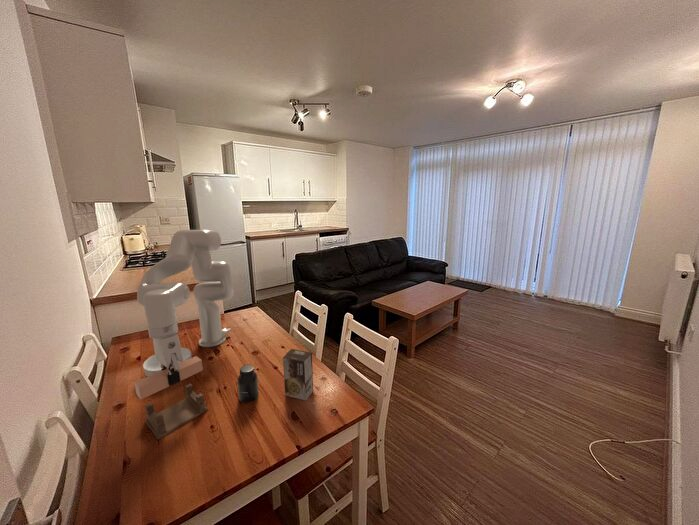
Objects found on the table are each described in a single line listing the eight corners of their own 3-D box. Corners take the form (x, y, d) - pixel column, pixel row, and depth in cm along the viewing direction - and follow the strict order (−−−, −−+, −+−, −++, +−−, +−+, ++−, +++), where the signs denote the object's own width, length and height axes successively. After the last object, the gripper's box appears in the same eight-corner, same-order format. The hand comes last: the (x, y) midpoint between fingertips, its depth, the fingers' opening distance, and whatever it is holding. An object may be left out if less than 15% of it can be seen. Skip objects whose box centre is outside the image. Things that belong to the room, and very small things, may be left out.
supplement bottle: (240, 406, 96) (237, 376, 94) (238, 394, 102) (235, 365, 100) (260, 399, 99) (257, 370, 97) (257, 388, 105) (254, 360, 103)
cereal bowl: (174, 358, 125) (172, 344, 123) (202, 365, 120) (200, 351, 118) (135, 380, 109) (132, 365, 108) (165, 390, 104) (162, 374, 102)
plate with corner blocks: (193, 396, 101) (191, 381, 100) (207, 410, 94) (205, 394, 93) (145, 421, 89) (142, 405, 88) (157, 439, 83) (154, 422, 81)
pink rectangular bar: (197, 366, 97) (196, 356, 96) (203, 370, 95) (201, 359, 94) (136, 393, 83) (134, 382, 82) (140, 399, 81) (138, 387, 80)
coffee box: (313, 390, 105) (312, 352, 101) (306, 401, 99) (304, 361, 95) (293, 384, 108) (291, 347, 104) (284, 395, 102) (282, 356, 98)
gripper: (188, 332, 83) (195, 384, 87) (166, 318, 93) (173, 365, 97) (160, 342, 77) (169, 398, 81) (139, 325, 87) (148, 376, 91)
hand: (171, 380), depth 89 cm, fingers closed on pink rectangular bar, 4 cm apart
